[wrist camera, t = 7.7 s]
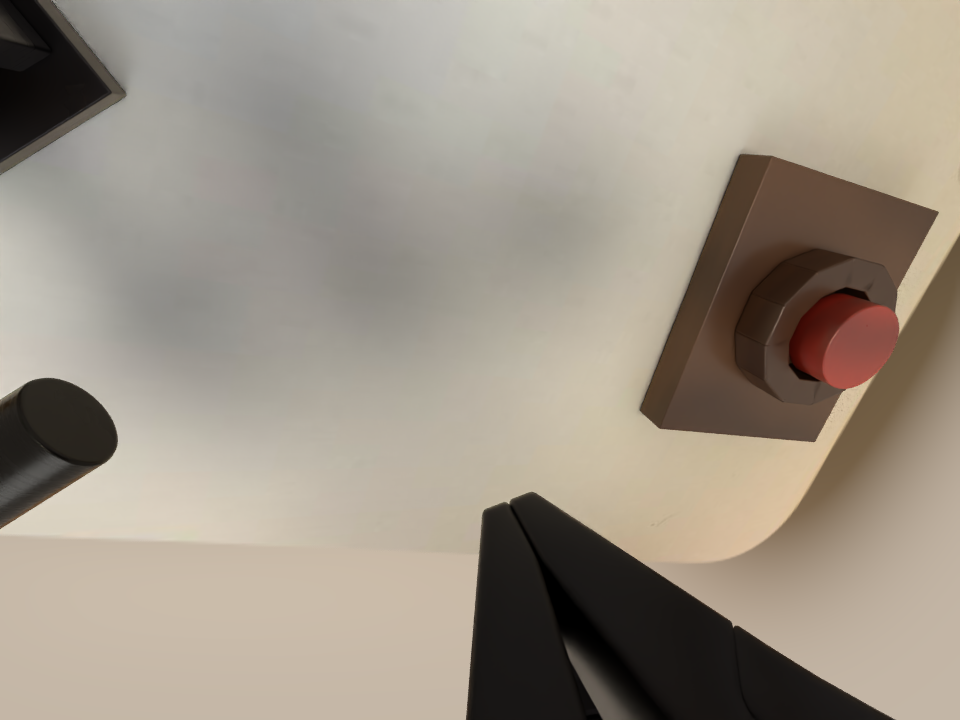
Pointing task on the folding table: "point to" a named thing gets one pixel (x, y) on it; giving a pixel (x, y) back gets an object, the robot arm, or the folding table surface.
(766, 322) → the box
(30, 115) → the switch bracket
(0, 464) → the hammer
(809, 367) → the power button
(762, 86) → the folding table surface
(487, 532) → the robot arm
